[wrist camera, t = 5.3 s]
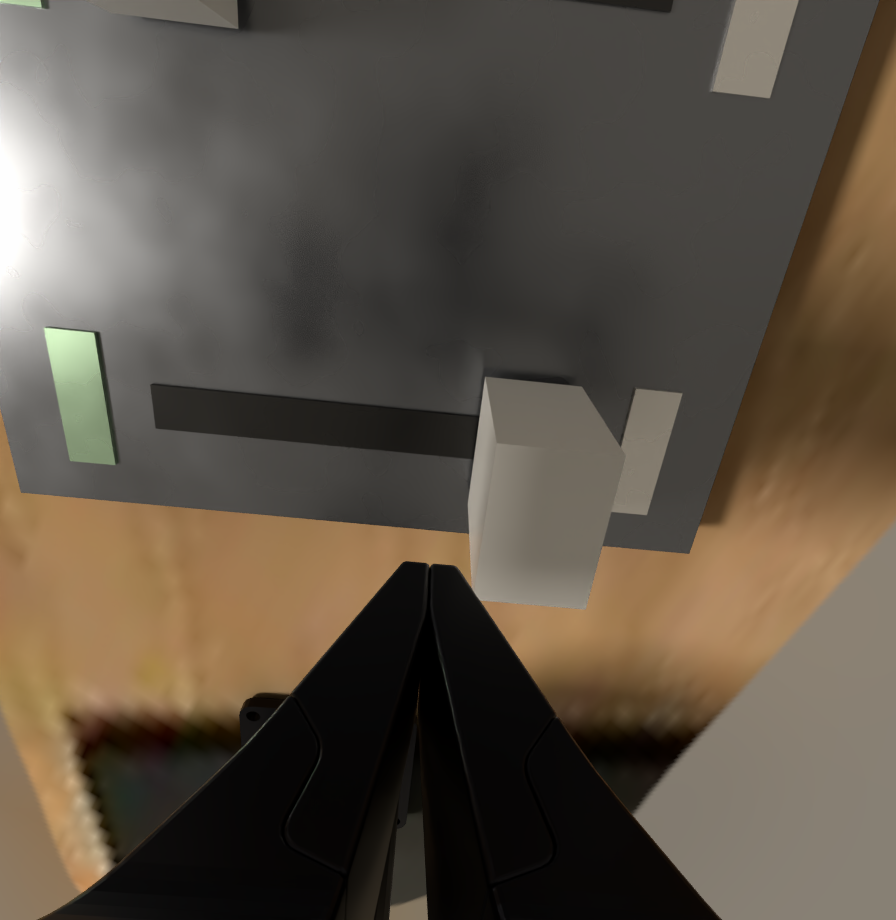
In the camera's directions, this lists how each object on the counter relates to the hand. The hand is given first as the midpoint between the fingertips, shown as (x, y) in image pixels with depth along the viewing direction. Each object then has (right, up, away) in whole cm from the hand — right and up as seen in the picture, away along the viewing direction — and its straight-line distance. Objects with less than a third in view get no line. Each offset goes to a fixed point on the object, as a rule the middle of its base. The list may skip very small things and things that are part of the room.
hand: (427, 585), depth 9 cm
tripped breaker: (+2, +2, +6) cm, 7 cm away
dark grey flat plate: (-1, +8, +5) cm, 10 cm away
